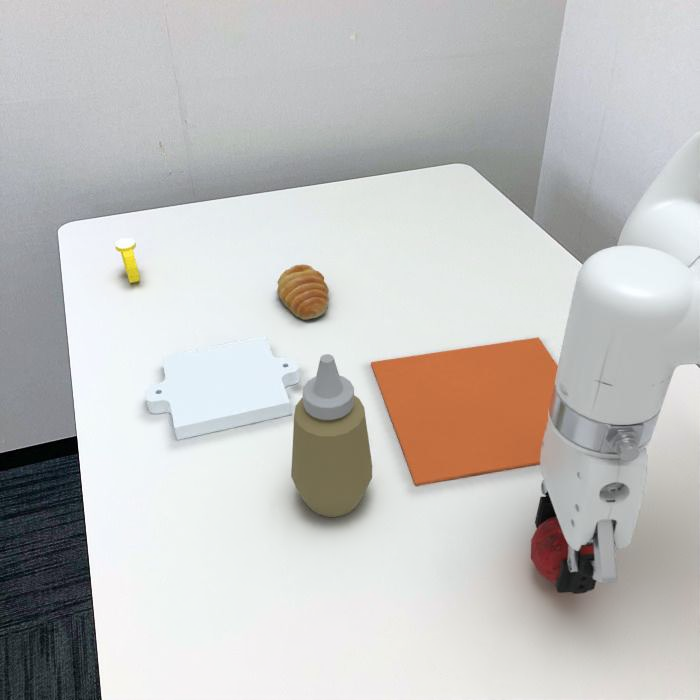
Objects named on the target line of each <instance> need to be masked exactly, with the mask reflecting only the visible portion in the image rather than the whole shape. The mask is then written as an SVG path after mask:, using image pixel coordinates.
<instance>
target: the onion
mask: <svg viewBox="0 0 700 700" xmlns="http://www.w3.org/2000/svg"><path fill="white" fill-rule="evenodd" d="M581 547H582V548H580V554H579V555H583V554H594V547H593V545H589V546H581ZM566 558H568V543H567V541H566V539H565V537H564V534H563V532H562V529H561V526H560V524H559V521H558V518H557V516H555V517H551V518H549V519H548V520H546V521H545V522H543V523H542V524H540V525H539V526H538V528H536V529H535V531H534V533H533V534H532V537H531V539H530V559H531V561H532V563H533V565H534V567H535V569H536V571H537V572H538V574H540V575H541V576H542V577H543V578H544V579H546V580H547V581H549V582H551V583H554V584H556V581H557V578H558V574H559V570H560V567H561V563H562V560H563V559H566Z"/></svg>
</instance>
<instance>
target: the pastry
mask: <svg viewBox="0 0 700 700" xmlns="http://www.w3.org/2000/svg"><path fill="white" fill-rule="evenodd" d="M276 288H277V289H276V293H277V295H278V296H279V299H280V300H281V302H282V303H283V305H284V306H285V307H286V308H287V309H288V310H289V311H290V312H291V313H292V314H293V315H294V316H295V317H297V318H299V319H301V320H305V321H306V320H310V319H316V318H319V317H321V316H323V315H324V314H325V312H326V310H327V309H328V303H329V301H330V300H329V291H330V290H329V287H328V285H327V283H326V282H325V277H324V275H323V274H322V273H321V272H320V271H319V270H315V269H314V268H313V267H312V266H311V265H309V264H303V263H302V264H296V265H293V266H291V267H289V268H287V269H285V270H284V271H283V272H282V273H281V274H280V277H279V278H278V281H277V287H276Z"/></svg>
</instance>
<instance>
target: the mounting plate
mask: <svg viewBox="0 0 700 700" xmlns="http://www.w3.org/2000/svg"><path fill="white" fill-rule="evenodd" d="M161 360H162V366H163V373H164V379H163V381H161V382H159V383H154V384H151V385H148V386H147V387H146V388H145V390H144V395H145V400H146V402H147V408H148V411H149V412H150V413H151V414H153V415H159V414H163V413H168V414H171V417H172V423H173V428H174V433H175V437H176V441H180V440H183V439H188V438H194V437H197V436H202V435H206V434H212V433H216V432H220V431H224V430H225V431H226V430H229V429H234V428H239V427H243V426H247V425H251V424H256V423H261V422H265V421H269V420H273V419H279V418H283V417H286V416H292V409H291V408H292V407H291V400H290V398H289V395H288V393H287V390H286V387H288V386H293V385H296V384H298V383H299V382H300V381H301V376H300V366H299V365H300V364H299V363H298V360H297V359H296V358H295V357H293V356H286V357H277V356H274V354H273V351H272V349H271V347H270V344H269V341H268V337H267V336H266V335H262V336H258V337H253V338H252V337H251V338H248V339H243V340H238V341H233V342H228V343H222V344H217V345H213V346H207V347H202V348H198V349H197V348H196V349H193V350H188V351H183V352H178V353H172V354H167V355H162V356H161Z"/></svg>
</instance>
